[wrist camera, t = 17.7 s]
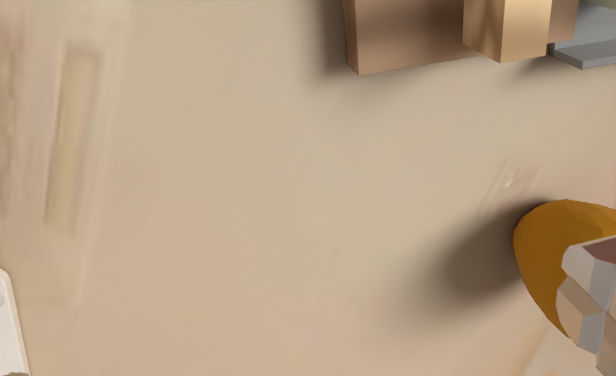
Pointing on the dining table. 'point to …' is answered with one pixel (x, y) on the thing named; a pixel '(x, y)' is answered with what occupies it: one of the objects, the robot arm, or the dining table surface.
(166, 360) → the dining table surface
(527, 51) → the wooden plank piece
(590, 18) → the tray
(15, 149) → the dining table surface
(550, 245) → the apple
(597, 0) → the tile
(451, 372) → the dining table surface
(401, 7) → the board
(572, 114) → the dining table surface
